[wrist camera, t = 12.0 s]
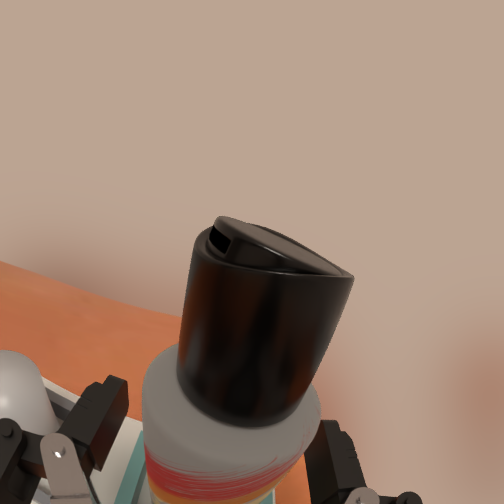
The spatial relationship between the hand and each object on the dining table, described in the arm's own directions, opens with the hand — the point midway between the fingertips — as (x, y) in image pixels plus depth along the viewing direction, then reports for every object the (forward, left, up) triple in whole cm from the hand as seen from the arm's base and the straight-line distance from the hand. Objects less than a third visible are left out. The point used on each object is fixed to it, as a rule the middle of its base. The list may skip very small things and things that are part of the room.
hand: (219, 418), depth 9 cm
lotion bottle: (+1, -1, -12) cm, 12 cm away
